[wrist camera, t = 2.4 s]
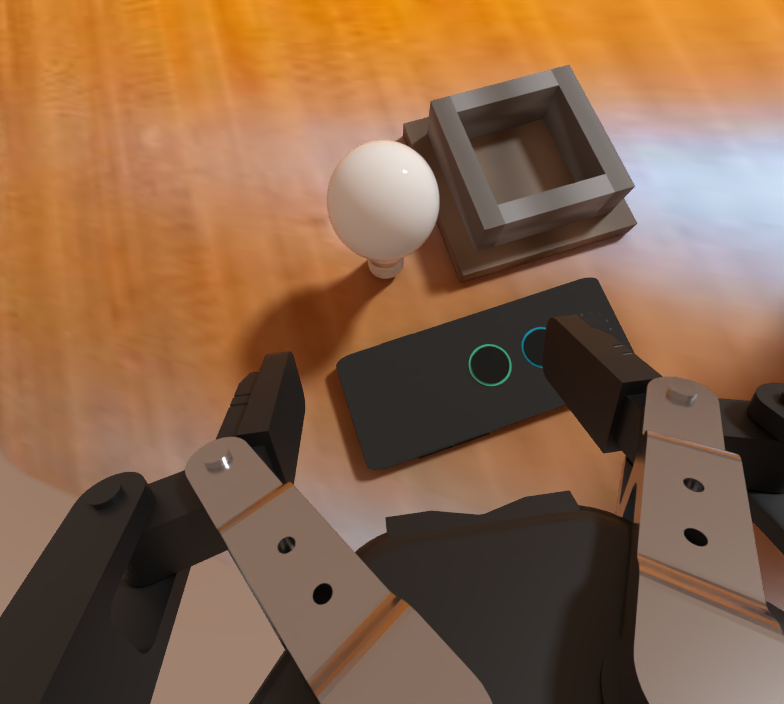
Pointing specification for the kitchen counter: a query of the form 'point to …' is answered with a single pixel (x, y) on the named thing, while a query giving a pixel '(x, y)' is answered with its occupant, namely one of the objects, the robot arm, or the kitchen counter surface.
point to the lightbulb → (383, 203)
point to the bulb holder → (521, 172)
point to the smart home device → (463, 375)
